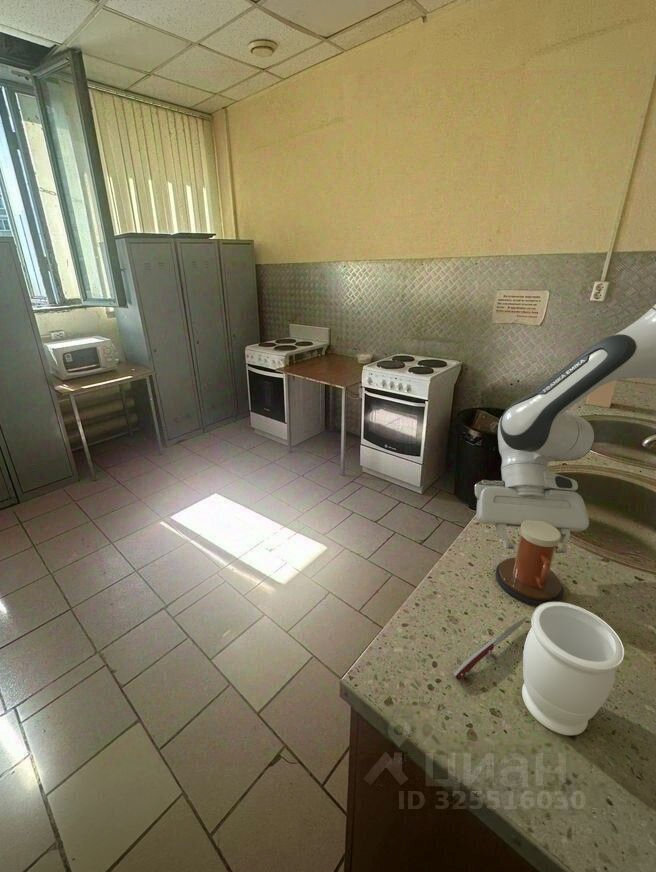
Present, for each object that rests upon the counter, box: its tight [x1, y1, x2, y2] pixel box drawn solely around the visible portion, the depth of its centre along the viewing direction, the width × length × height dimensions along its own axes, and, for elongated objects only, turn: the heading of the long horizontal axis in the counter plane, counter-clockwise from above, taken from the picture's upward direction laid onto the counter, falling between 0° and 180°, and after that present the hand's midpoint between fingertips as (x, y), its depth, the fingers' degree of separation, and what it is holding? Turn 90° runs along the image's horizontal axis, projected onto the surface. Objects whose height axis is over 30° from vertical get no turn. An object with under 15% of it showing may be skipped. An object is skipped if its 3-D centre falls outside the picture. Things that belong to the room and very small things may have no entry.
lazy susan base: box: [494, 561, 564, 607], centre depth 80 cm, size 12×12×1 cm
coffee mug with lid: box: [499, 520, 562, 601], centre depth 78 cm, size 11×11×12 cm
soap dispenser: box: [585, 380, 619, 409], centre depth 172 cm, size 13×9×22 cm
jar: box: [521, 601, 625, 736], centre depth 56 cm, size 11×10×15 cm
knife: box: [452, 616, 529, 681], centre depth 66 cm, size 20×1×3 cm, turn 122°
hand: (534, 550), depth 78 cm, fingers open, 8 cm apart
